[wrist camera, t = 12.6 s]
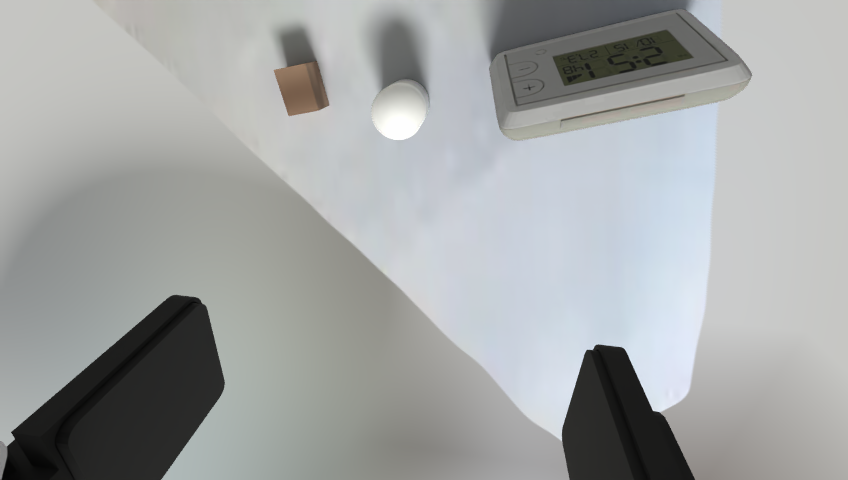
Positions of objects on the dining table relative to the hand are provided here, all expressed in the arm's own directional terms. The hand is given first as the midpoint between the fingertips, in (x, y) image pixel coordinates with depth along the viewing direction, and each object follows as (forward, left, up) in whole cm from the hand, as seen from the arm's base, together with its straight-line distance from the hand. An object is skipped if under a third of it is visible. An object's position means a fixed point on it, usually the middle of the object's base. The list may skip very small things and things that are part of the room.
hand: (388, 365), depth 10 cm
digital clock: (-5, +11, -33) cm, 35 cm away
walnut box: (-2, -14, -33) cm, 36 cm away
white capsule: (-1, -5, -33) cm, 33 cm away
